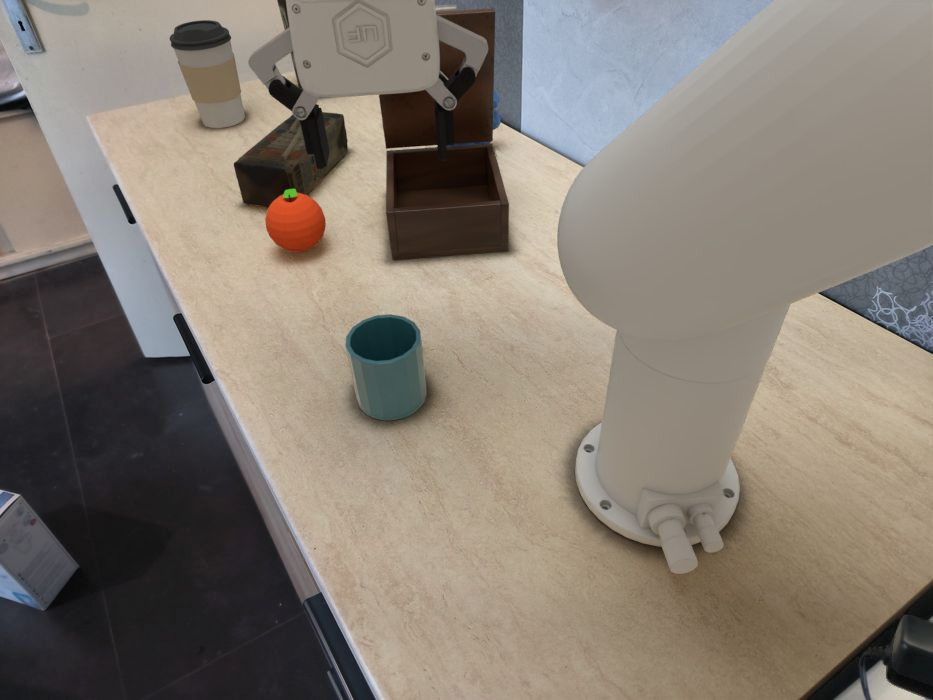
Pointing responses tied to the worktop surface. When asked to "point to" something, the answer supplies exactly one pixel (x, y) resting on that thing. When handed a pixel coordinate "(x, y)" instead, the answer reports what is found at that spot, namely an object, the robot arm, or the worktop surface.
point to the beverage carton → (287, 161)
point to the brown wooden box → (445, 202)
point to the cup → (387, 366)
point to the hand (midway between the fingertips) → (383, 157)
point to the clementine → (295, 221)
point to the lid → (473, 114)
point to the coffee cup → (209, 71)
